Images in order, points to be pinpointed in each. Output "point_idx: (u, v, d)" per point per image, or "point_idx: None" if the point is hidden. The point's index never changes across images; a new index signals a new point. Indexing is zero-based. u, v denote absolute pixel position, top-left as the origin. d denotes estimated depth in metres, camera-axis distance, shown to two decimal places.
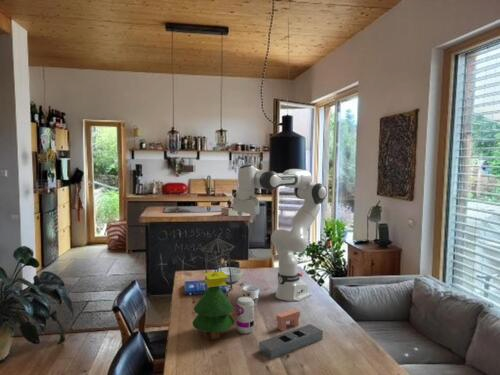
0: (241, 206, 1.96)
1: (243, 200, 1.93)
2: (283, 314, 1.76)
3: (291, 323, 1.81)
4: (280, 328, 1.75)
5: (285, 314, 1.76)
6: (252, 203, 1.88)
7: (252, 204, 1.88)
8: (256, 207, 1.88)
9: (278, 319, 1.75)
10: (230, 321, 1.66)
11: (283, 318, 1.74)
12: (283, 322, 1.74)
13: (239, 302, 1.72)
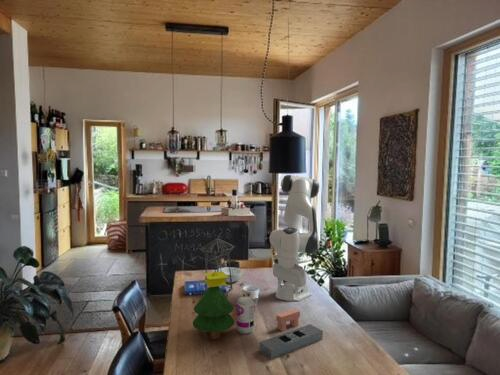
0: (284, 274, 1.77)
1: (287, 269, 1.73)
2: (283, 314, 1.76)
3: (291, 323, 1.81)
4: (280, 328, 1.75)
5: (285, 314, 1.76)
6: (298, 274, 1.69)
7: (298, 275, 1.69)
8: (303, 278, 1.68)
9: (278, 319, 1.75)
10: (230, 321, 1.66)
11: (283, 318, 1.74)
12: (283, 322, 1.74)
13: (239, 302, 1.72)
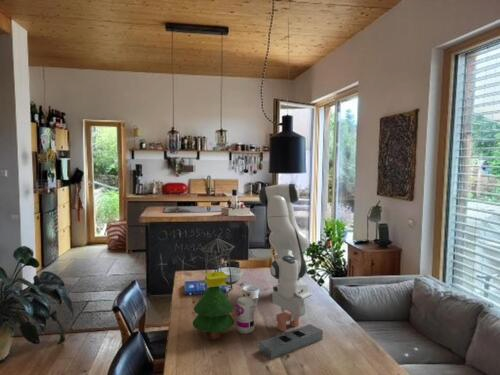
0: (283, 302, 1.78)
1: (286, 297, 1.75)
2: (283, 314, 1.76)
3: (291, 323, 1.81)
4: (280, 328, 1.75)
5: (285, 314, 1.76)
6: (297, 303, 1.70)
7: (297, 305, 1.70)
8: (302, 307, 1.70)
9: (278, 319, 1.75)
10: (230, 321, 1.66)
11: (283, 317, 1.74)
12: (283, 322, 1.74)
13: (239, 302, 1.72)
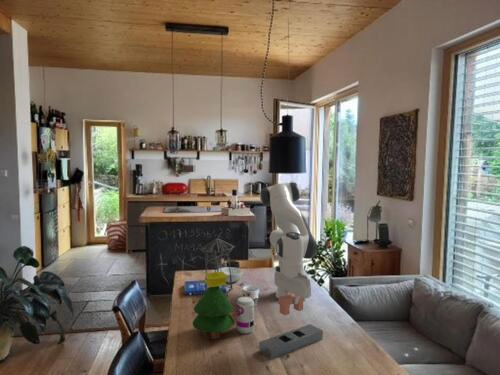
0: (286, 283, 1.60)
1: (290, 278, 1.56)
2: (286, 296, 1.58)
3: (295, 307, 1.62)
4: (283, 312, 1.57)
5: (288, 296, 1.58)
6: (302, 284, 1.51)
7: (302, 285, 1.51)
8: (307, 288, 1.51)
9: (281, 302, 1.56)
10: (230, 321, 1.66)
11: (286, 300, 1.56)
12: (286, 305, 1.56)
13: (239, 302, 1.72)
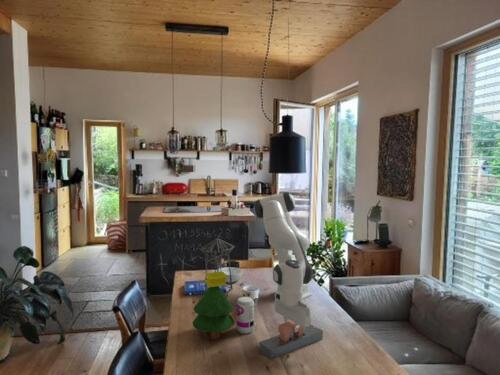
0: (286, 311, 1.61)
1: (289, 306, 1.57)
2: (286, 324, 1.59)
3: (295, 334, 1.63)
4: (283, 340, 1.58)
5: (288, 324, 1.59)
6: (302, 313, 1.52)
7: (302, 314, 1.52)
8: (307, 318, 1.52)
9: (280, 330, 1.57)
10: (230, 321, 1.66)
11: (286, 328, 1.57)
12: (286, 333, 1.57)
13: (239, 302, 1.72)
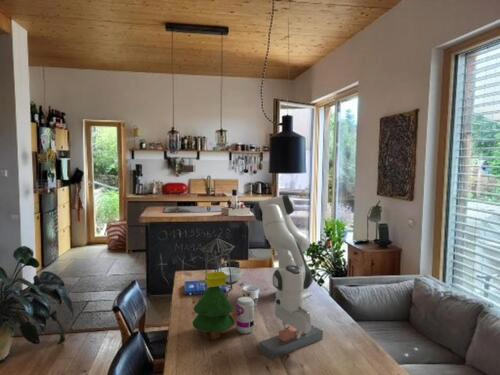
0: (286, 316, 1.61)
1: (290, 311, 1.57)
2: (286, 331, 1.59)
3: None
4: None
5: (289, 331, 1.59)
6: (302, 319, 1.53)
7: (302, 320, 1.53)
8: (307, 323, 1.52)
9: (281, 337, 1.58)
10: (230, 321, 1.66)
11: (286, 335, 1.57)
12: (286, 340, 1.57)
13: (239, 302, 1.72)
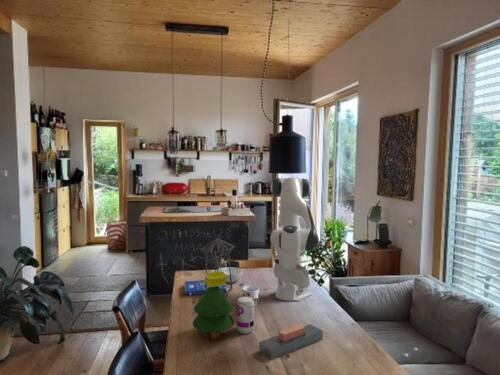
0: (285, 275, 1.68)
1: (289, 269, 1.64)
2: (286, 331, 1.59)
3: None
4: None
5: (289, 331, 1.59)
6: (301, 275, 1.59)
7: (301, 276, 1.59)
8: (306, 279, 1.59)
9: (281, 337, 1.58)
10: (230, 321, 1.66)
11: (286, 335, 1.57)
12: (286, 340, 1.57)
13: (239, 302, 1.72)
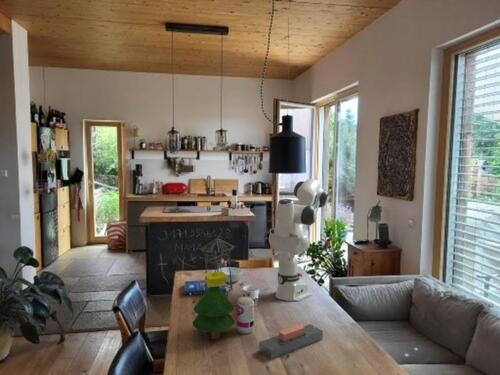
0: (280, 243, 1.85)
1: (282, 238, 1.81)
2: (286, 331, 1.59)
3: None
4: None
5: (289, 331, 1.59)
6: (293, 242, 1.76)
7: (293, 243, 1.76)
8: (298, 246, 1.76)
9: (281, 337, 1.58)
10: (230, 321, 1.66)
11: (286, 335, 1.57)
12: (286, 340, 1.57)
13: (239, 302, 1.72)
